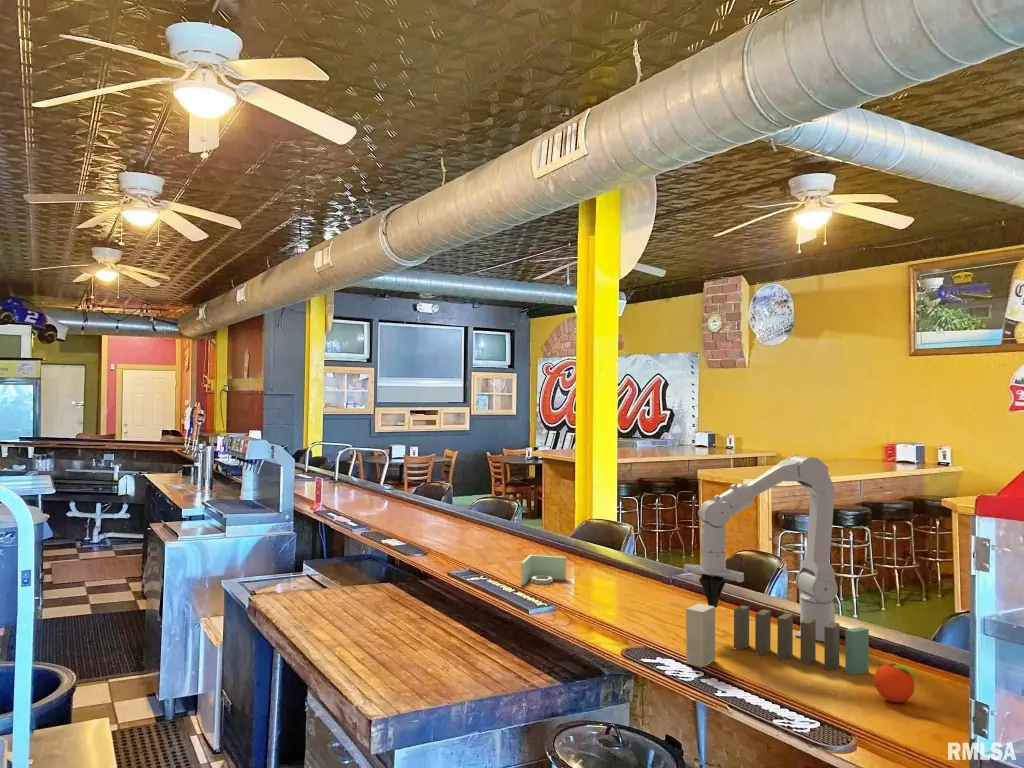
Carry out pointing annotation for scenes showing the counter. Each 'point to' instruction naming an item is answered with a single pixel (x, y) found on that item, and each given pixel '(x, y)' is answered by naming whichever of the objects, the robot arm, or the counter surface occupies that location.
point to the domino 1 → (741, 627)
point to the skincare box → (700, 635)
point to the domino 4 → (808, 641)
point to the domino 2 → (762, 631)
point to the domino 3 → (785, 636)
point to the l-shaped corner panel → (543, 569)
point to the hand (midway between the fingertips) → (712, 607)
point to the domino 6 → (857, 650)
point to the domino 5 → (831, 646)
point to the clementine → (894, 682)
